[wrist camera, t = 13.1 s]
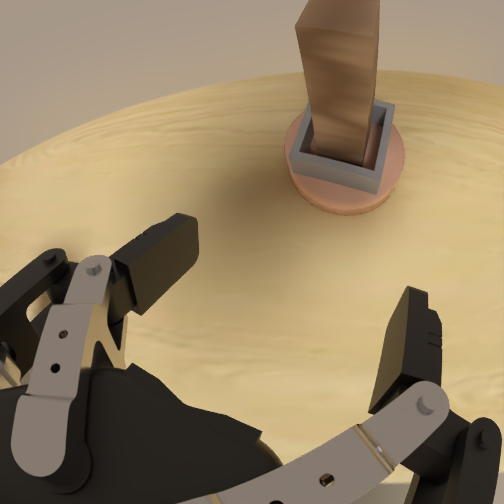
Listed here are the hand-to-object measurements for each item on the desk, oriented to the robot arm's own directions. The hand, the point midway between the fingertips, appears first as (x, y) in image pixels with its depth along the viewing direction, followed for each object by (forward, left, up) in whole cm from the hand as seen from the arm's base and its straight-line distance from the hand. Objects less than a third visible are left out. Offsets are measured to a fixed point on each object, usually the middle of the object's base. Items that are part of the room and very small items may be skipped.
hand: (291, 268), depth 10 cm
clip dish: (+1, -12, -14) cm, 18 cm away
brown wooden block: (+1, -12, -11) cm, 16 cm away
